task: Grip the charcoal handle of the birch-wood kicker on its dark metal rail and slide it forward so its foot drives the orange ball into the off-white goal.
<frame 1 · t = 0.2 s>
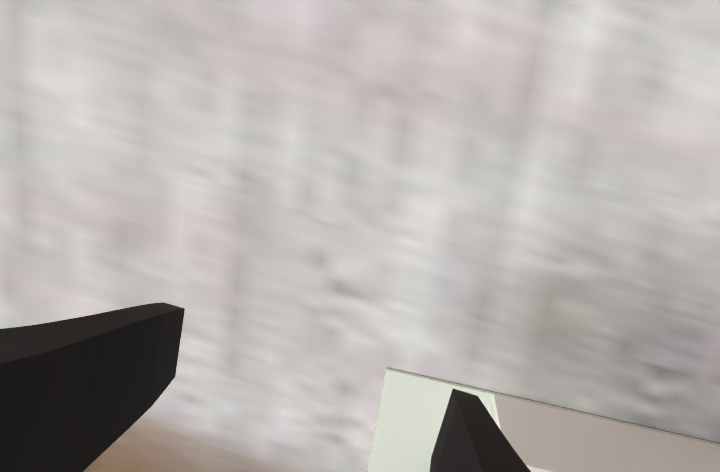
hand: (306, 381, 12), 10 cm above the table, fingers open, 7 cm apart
goal: (601, 456, 21), resting on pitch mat
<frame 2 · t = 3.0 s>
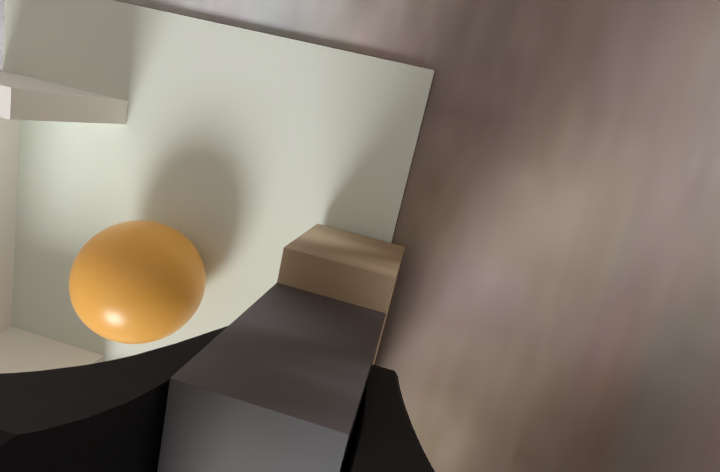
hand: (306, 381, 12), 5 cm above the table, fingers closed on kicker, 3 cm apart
goal: (47, 226, 18), resting on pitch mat
ball: (141, 281, 15), point 2 cm above the table, touching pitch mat
kicker: (290, 454, 12), point 5 cm above the table, slide at 0.0 cm, touching gripper
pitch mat: (174, 288, 17), on the table
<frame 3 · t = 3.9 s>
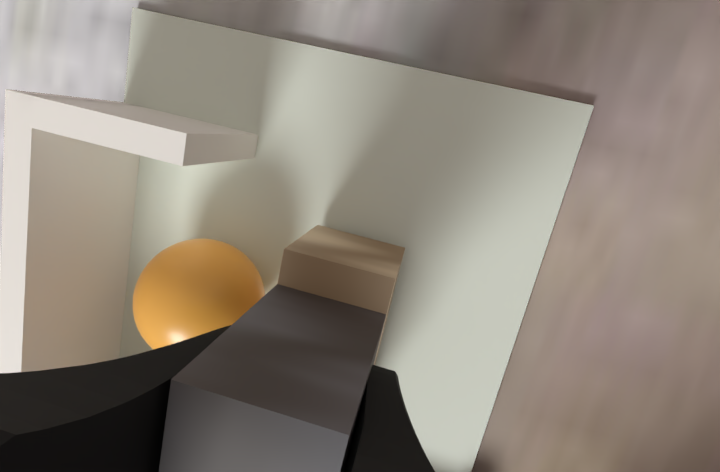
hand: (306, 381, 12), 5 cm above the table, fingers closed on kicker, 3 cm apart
goal: (162, 260, 17), resting on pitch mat
ball: (201, 300, 15), point 2 cm above the table, tilted 73°, touching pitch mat
kicker: (291, 455, 12), point 5 cm above the table, slide at 4.8 cm, touching gripper
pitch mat: (295, 324, 17), on the table
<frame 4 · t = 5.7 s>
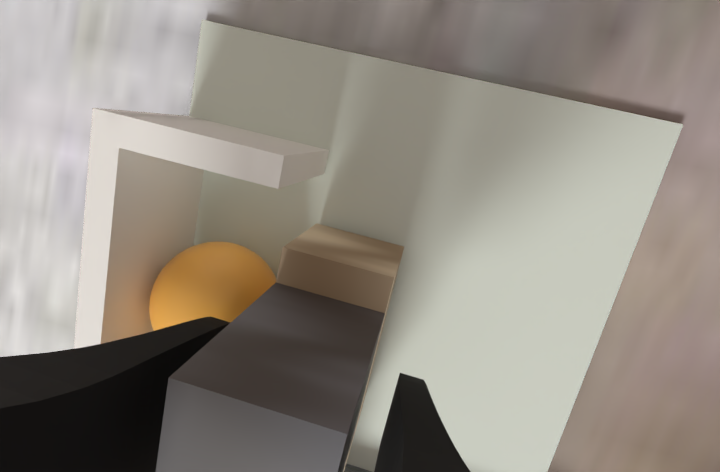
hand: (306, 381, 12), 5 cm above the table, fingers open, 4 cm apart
goal: (222, 276, 17), resting on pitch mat
ball: (217, 303, 15), point 2 cm above the table, tilted 128°, touching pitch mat
kicker: (289, 453, 12), point 5 cm above the table, slide at 7.3 cm
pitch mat: (360, 342, 17), on the table
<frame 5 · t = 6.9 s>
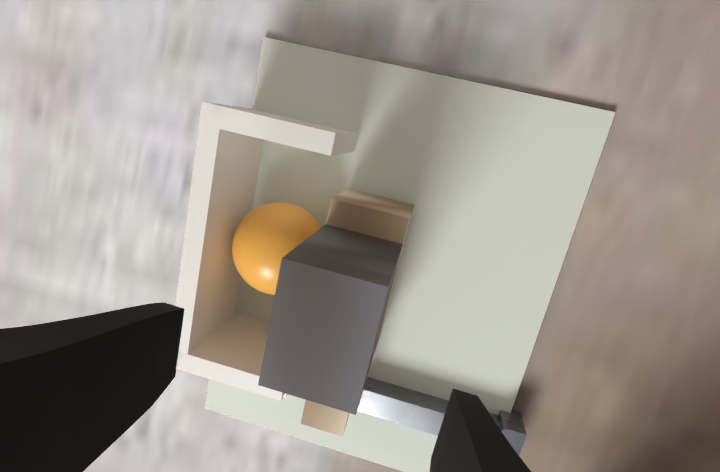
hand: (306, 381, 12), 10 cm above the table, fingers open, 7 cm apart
goal: (274, 231, 22), resting on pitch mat
ball: (280, 248, 20), point 2 cm above the table, tilted 124°, touching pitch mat
rail: (393, 393, 23), resting on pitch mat
kicker: (335, 345, 17), point 5 cm above the table, slide at 7.3 cm
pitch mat: (380, 281, 22), on the table
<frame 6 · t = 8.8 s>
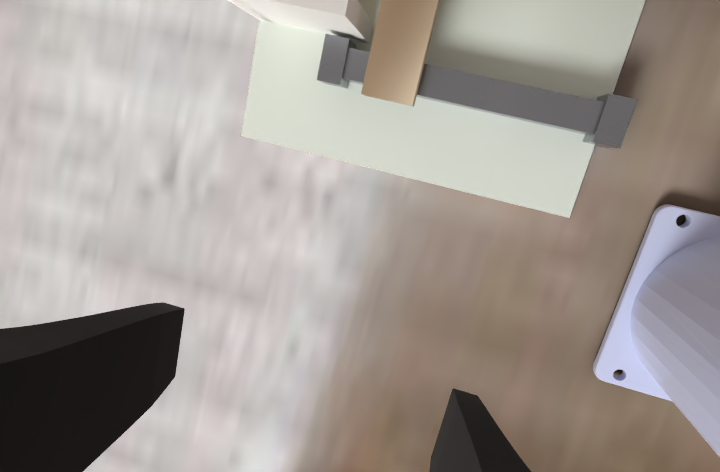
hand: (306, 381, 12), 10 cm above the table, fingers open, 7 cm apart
rail: (466, 92, 19), resting on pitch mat
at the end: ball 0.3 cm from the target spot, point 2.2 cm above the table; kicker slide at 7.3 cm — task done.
